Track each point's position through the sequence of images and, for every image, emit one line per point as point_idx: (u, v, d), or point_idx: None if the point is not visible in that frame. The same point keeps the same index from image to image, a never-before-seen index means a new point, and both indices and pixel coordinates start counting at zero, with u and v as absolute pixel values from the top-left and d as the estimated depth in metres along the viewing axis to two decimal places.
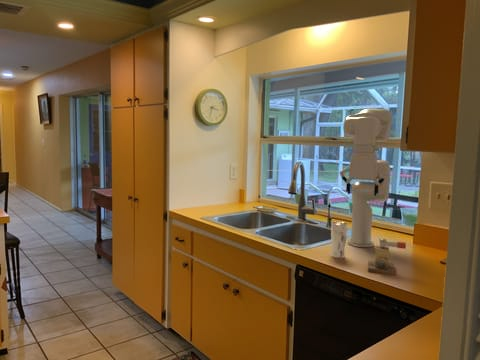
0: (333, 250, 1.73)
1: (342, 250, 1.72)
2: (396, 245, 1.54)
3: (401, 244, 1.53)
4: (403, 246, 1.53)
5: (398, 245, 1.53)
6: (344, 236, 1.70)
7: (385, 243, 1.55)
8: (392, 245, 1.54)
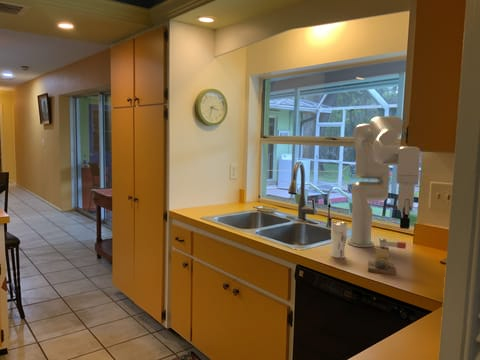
0: (333, 250, 1.73)
1: (342, 250, 1.72)
2: (396, 245, 1.54)
3: (401, 244, 1.53)
4: (403, 246, 1.53)
5: (398, 245, 1.53)
6: (344, 236, 1.70)
7: (385, 243, 1.55)
8: (392, 245, 1.54)
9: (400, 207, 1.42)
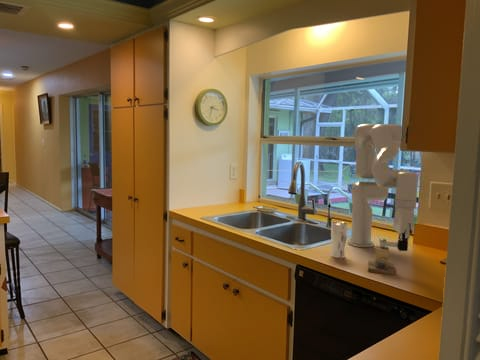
0: (333, 250, 1.73)
1: (342, 250, 1.72)
2: (396, 245, 1.54)
3: None
4: None
5: None
6: (344, 236, 1.70)
7: (385, 243, 1.55)
8: (392, 245, 1.54)
9: (402, 231, 1.46)
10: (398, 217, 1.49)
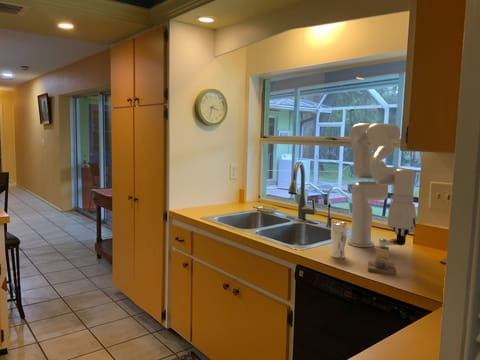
0: (333, 250, 1.73)
1: (342, 250, 1.72)
2: (393, 242, 1.58)
3: None
4: None
5: (395, 242, 1.58)
6: (344, 236, 1.70)
7: (386, 242, 1.56)
8: (390, 243, 1.57)
9: (410, 226, 1.51)
10: (402, 213, 1.53)
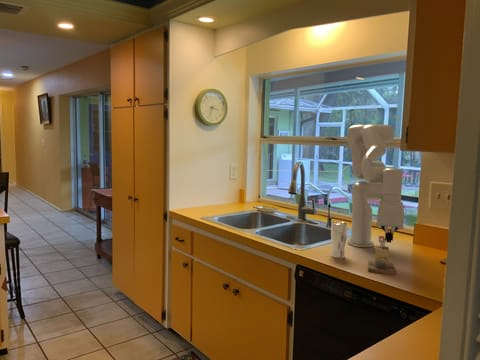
0: (333, 250, 1.73)
1: (342, 250, 1.72)
2: None
3: None
4: None
5: None
6: (344, 236, 1.70)
7: None
8: None
9: None
10: (395, 211, 1.57)
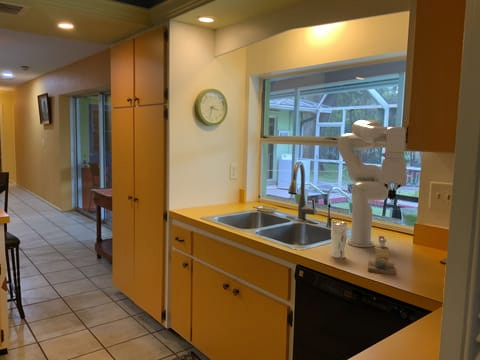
0: (333, 250, 1.73)
1: (342, 250, 1.72)
2: None
3: None
4: None
5: None
6: (344, 236, 1.70)
7: None
8: None
9: (405, 180, 1.61)
10: (398, 169, 1.61)
